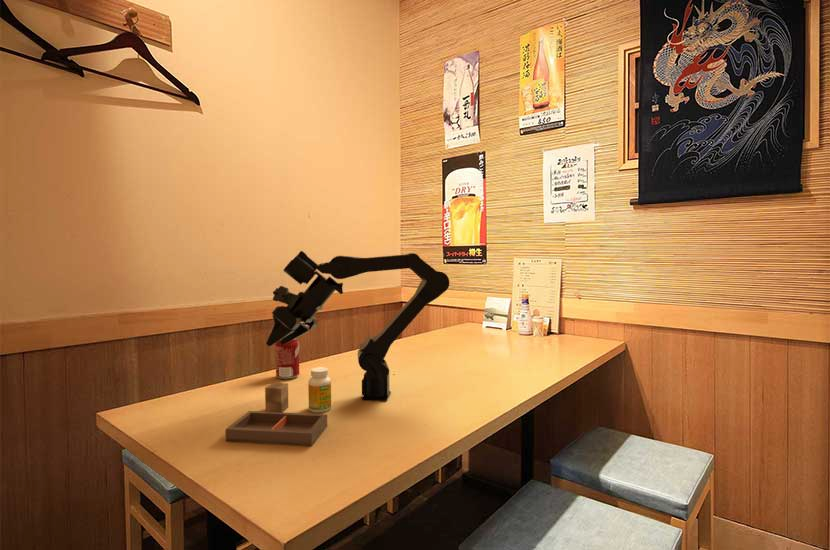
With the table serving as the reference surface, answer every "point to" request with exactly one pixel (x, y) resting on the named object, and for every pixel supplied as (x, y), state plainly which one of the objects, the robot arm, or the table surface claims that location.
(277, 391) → the walnut block
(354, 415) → the table surface
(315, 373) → the supplement bottle
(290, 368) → the soda can
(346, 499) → the table surface
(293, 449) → the table surface
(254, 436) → the tray
